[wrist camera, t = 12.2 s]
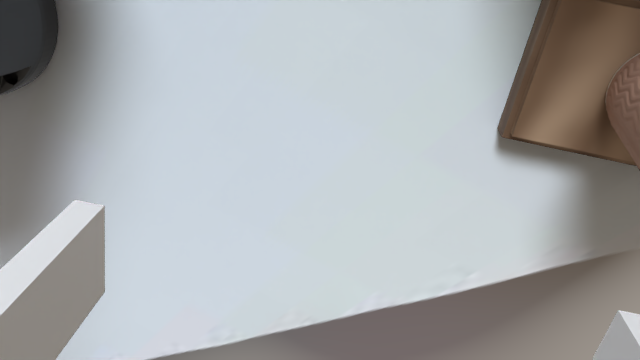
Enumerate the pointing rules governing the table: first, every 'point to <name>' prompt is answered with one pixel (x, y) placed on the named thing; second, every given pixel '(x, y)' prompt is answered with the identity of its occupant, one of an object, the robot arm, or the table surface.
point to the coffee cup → (626, 105)
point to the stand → (572, 77)
